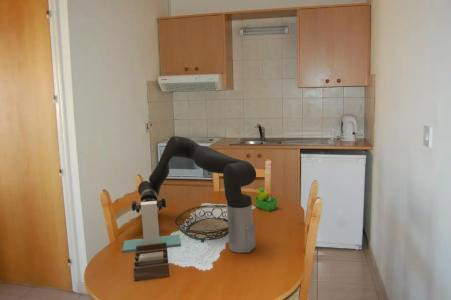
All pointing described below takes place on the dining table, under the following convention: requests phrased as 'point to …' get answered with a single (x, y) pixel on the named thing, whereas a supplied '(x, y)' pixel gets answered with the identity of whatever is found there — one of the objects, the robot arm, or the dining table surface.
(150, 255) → the offcut mid
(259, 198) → the fruit basket
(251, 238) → the robot arm
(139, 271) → the rack
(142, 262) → the offcut tall
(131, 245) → the board
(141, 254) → the offcut short
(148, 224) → the beige tall block
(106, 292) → the dining table surface
